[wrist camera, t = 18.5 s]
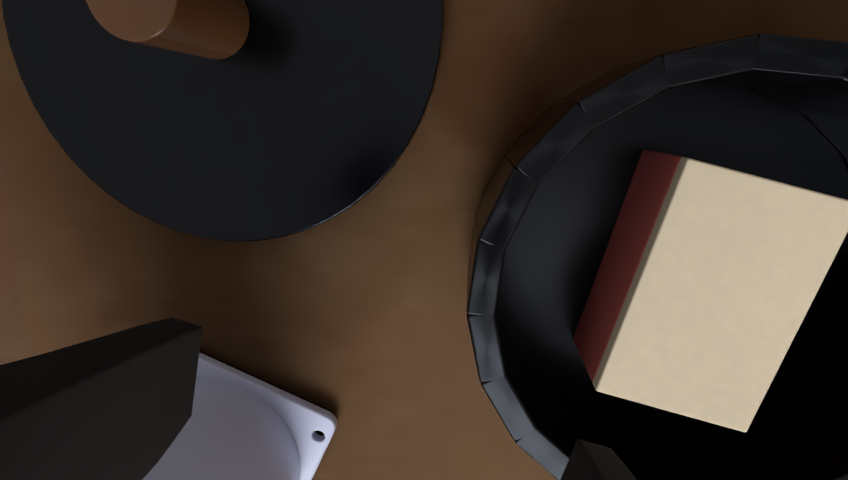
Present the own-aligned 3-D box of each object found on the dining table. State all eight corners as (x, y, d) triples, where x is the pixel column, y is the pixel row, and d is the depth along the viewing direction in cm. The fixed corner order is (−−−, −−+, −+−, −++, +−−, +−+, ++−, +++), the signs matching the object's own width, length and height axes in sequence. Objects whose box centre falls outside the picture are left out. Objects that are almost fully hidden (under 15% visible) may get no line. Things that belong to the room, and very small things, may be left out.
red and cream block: (694, 372, 18) (746, 433, 14) (572, 338, 18) (595, 391, 14) (779, 184, 16) (863, 203, 12) (642, 148, 16) (688, 157, 12)
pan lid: (346, 296, 19) (302, 361, 14) (-7, 134, 18) (-181, 141, 14) (524, -110, 15) (550, -221, 10) (81, -323, 15) (-119, -545, 10)
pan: (727, 486, 19) (801, 595, 15) (410, 341, 19) (392, 408, 15) (972, 168, 16) (1167, 190, 11) (586, -16, 15) (631, -67, 11)
